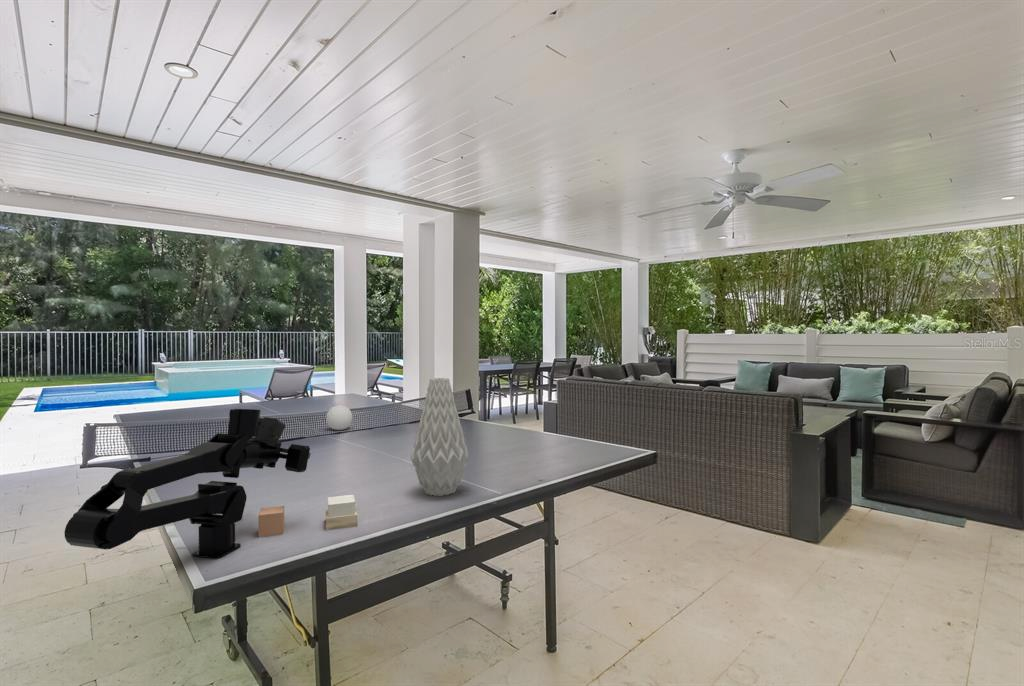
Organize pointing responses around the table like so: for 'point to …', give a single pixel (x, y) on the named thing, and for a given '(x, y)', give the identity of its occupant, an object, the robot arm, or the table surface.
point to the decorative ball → (339, 417)
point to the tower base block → (341, 521)
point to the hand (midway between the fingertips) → (294, 452)
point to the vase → (439, 441)
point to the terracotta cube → (271, 521)
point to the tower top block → (341, 506)
